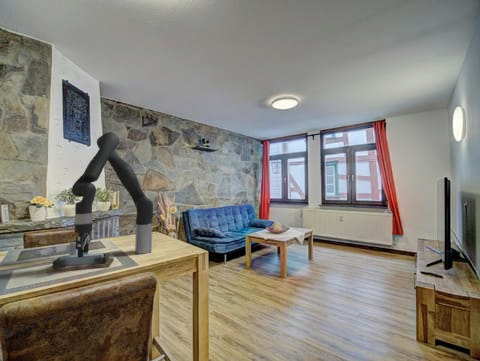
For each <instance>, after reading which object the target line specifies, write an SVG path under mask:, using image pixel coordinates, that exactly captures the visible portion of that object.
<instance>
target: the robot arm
mask: <svg viewBox="0 0 480 361" xmlns="http://www.w3.org/2000/svg"><path fill="white" fill-rule="evenodd" d="M119 144H120V139H119V136H118V135H117V134H116V133H115V132H114V133H113V132H105V133H104V134H102V135H100V136H99V137H98V138H97V140H96V145H97V148H98V151H97V152H96V154H95V155H94V157H93V158H92V159H91V160H90V161H89V163H88V164H87V166H86V167H85V170H84V172H83V174H81V176H79V178H78V179H77V180H76V181H75V182H74V183H73V184H72V187H71V193H72V194H73V196H75V197H79V198H80V197H81V200H80V201H77V202H76V203H75V206H74V207H75V208H74V211H75V214H74V228H73V229H74V230H73V232H74V233H76V234H78V236H76V237H75V242H76V249H77V250H78V258H79V257H83V252H84V253H85V252H88V253H89V251H90V250H89V249H90V247H89V246H90V243H91V232H92V231H93V227H94V226H93V223H94V222H93V221H94V219H93V203H94V200H95V197H96V193H97V188H96V186H95V184H94V182H97V181H98V180H99V179H100V177H101V174H102V172H103V170H104V168H105V165H106V164H107V162H108V163H109V164H110V167H111V168H112V169H113V171H114V172H115V175H116V176H117V179H118V180H119V182H120V183H121V185H122V186H123V188H124V189H125V190H126V191H127V193H128V194H129V195H130V198H131V199H132V201H133V204H134V206H135V208H136V218H135V243H134V244H135V248H134V249H135V250H134V252H135V254H139V255H141V254H142V255H143V254H149V253H152V251H153V250H152V249H153V234H152V233H153V217H154V203H153V201H152V200H151V199H150V198H148V197H147V195H146V194H145V193H144V190H143V189H142V188H141V185H140V181H139V179H138V177H137V175H136V173H135V170H134V169H133V167H132V166H131V165H130V164H129V163H128V162H127V161H125V160H124V159H122V157H121V156H120V155H119V154H118V152H117V150H116V148H117V147H118V146H119ZM80 245H81V247H79V246H80Z"/></svg>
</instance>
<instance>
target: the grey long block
mask: <svg viewBox="0 0 480 361" xmlns="http://www.w3.org/2000/svg"><path fill="white" fill-rule="evenodd" d="M104 254H105V253H104V252H99V253H97V252H94V253H88V254H83V257H79V258H78V255H70V254H69V255H61V256H60V257H61V258H60V260H59V261H63V260H66V266H71V265H82V264H94V258H100V257H104Z"/></svg>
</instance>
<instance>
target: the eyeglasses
mask: <svg viewBox="0 0 480 361" xmlns="http://www.w3.org/2000/svg"><path fill="white" fill-rule="evenodd" d="M67 247H68V245H66V244H65V245H63V244H62V245H57V246H56V247H53V248H52V247H47V248H43V249H40V250H39V251H38V252H39V253H40V255H41V256H45V255H50V254H51V253H52V252H53V251H54V249H55V251H56V253H60V252H65V251H66V250H67Z"/></svg>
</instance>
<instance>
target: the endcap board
mask: <svg viewBox="0 0 480 361" xmlns="http://www.w3.org/2000/svg"><path fill="white" fill-rule="evenodd" d="M61 257H62V256H59V257H58V258H56V259H55V260H53V261H52V265H51V266H49V267H48V268H46V270H45V273H46V274H49V273H50V274H51V273H60V272H70V271H81V270H94V268H95V269H102V268H103V269H105V268H110V267H111V265H112V264H113V262H114V257H110V253H109V252H107V253H104V257H100V258H94V264H82V265H71V266H66V260H63V261H59V260H60V258H61Z"/></svg>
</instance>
